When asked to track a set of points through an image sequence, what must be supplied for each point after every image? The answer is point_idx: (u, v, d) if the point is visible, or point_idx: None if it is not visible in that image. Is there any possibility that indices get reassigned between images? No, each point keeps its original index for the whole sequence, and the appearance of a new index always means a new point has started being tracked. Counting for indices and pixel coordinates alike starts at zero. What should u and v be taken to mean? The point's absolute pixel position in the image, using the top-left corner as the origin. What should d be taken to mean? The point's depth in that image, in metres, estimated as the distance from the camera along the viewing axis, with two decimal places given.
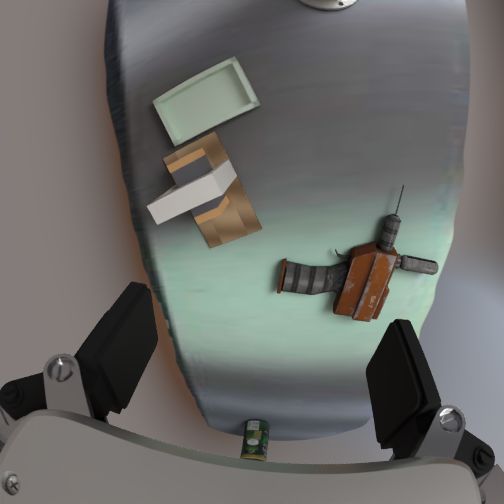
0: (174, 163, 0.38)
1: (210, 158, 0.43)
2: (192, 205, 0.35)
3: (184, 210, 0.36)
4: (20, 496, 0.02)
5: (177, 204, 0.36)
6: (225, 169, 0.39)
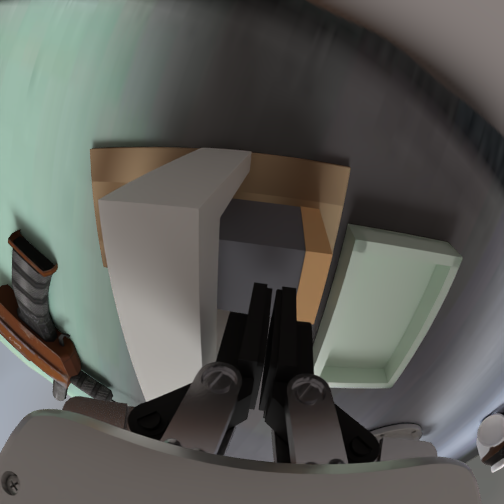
0: (321, 278, 0.13)
1: None
2: (136, 356, 0.10)
3: (126, 329, 0.09)
4: (20, 496, 0.02)
5: (154, 328, 0.09)
6: None
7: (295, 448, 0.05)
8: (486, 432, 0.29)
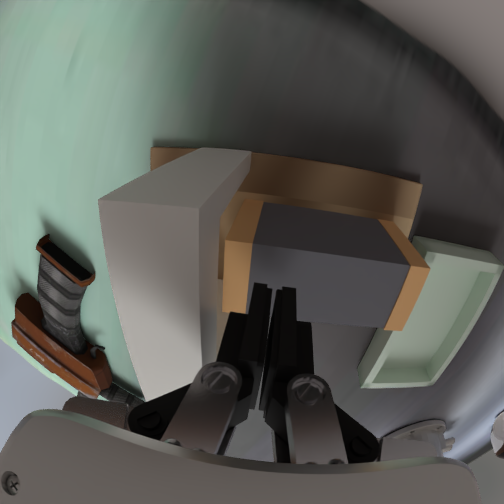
0: (418, 290, 0.12)
1: None
2: (136, 355, 0.10)
3: (126, 329, 0.09)
4: (19, 496, 0.02)
5: (153, 328, 0.09)
6: None
7: (295, 448, 0.05)
8: (500, 427, 0.29)
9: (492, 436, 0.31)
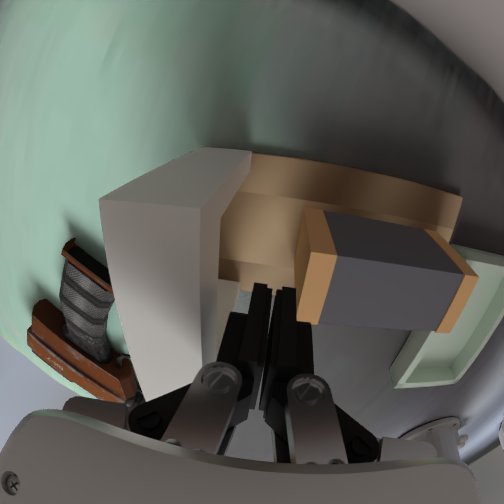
0: (467, 296, 0.12)
1: None
2: (136, 355, 0.10)
3: (126, 329, 0.09)
4: (20, 496, 0.02)
5: (154, 327, 0.09)
6: None
7: (295, 448, 0.05)
8: None
9: (500, 433, 0.31)
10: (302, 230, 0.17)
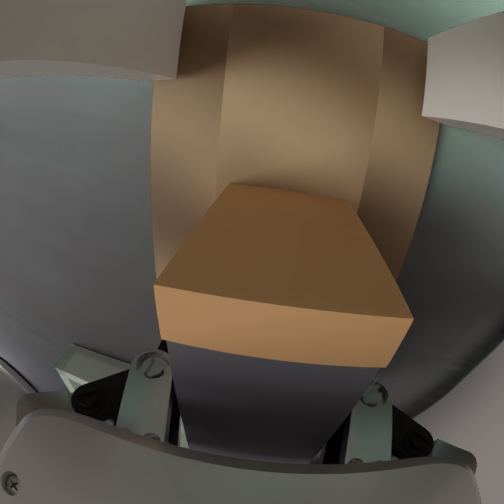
0: None
1: None
2: None
3: None
4: (20, 496, 0.02)
5: None
6: None
7: (370, 449, 0.05)
8: None
9: None
10: (324, 208, 0.08)
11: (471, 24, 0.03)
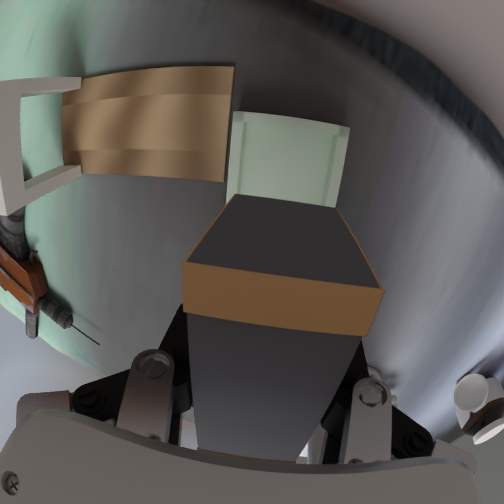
0: None
1: (183, 150, 0.22)
2: None
3: None
4: (20, 496, 0.02)
5: None
6: None
7: (370, 449, 0.05)
8: (464, 395, 0.32)
9: (457, 408, 0.35)
10: (316, 214, 0.10)
11: (43, 93, 0.17)
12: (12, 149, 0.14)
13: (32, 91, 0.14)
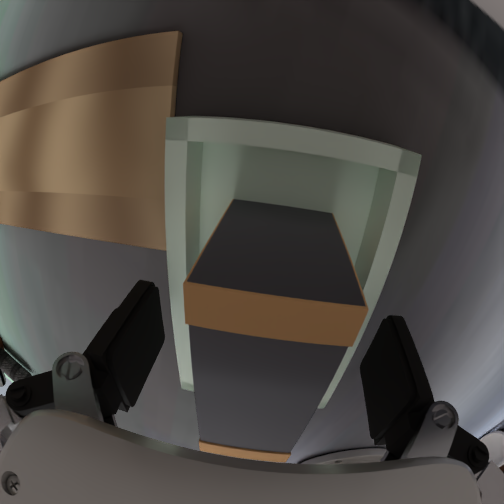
0: (258, 458, 0.10)
1: (101, 194, 0.12)
2: None
3: None
4: (20, 496, 0.02)
5: None
6: None
7: None
8: None
9: None
10: (311, 222, 0.10)
11: None
12: None
13: None
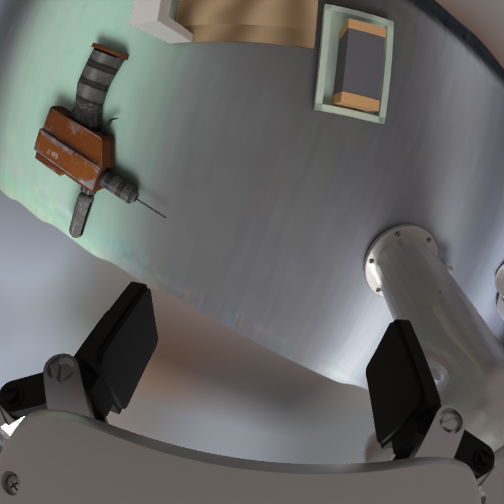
0: (366, 106, 0.24)
1: (285, 26, 0.25)
2: None
3: None
4: (20, 496, 0.02)
5: None
6: (172, 35, 0.23)
7: None
8: None
9: (499, 307, 0.37)
10: None
11: None
12: None
13: None
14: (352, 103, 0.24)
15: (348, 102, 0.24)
